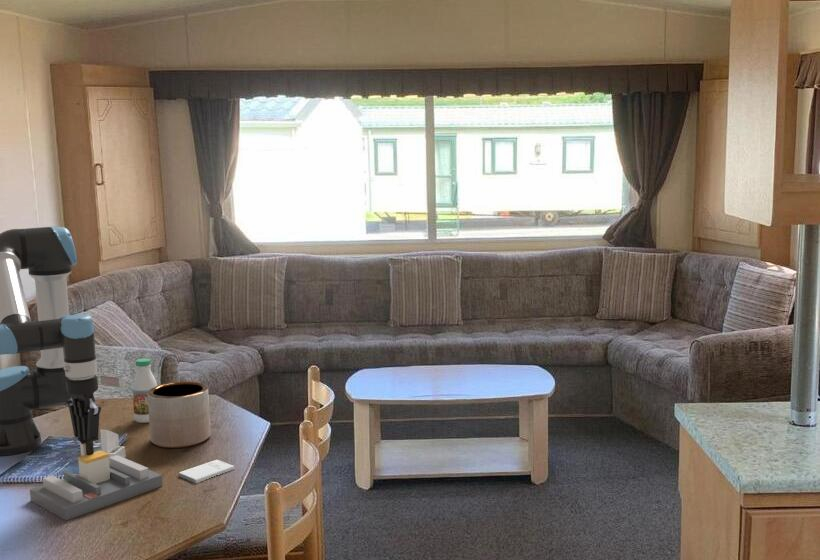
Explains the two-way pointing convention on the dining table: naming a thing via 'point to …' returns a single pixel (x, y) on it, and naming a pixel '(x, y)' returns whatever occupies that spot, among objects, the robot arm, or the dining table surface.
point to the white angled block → (111, 444)
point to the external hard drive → (206, 471)
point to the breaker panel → (94, 489)
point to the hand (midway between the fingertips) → (88, 465)
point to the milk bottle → (142, 390)
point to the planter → (179, 414)
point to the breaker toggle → (94, 467)
